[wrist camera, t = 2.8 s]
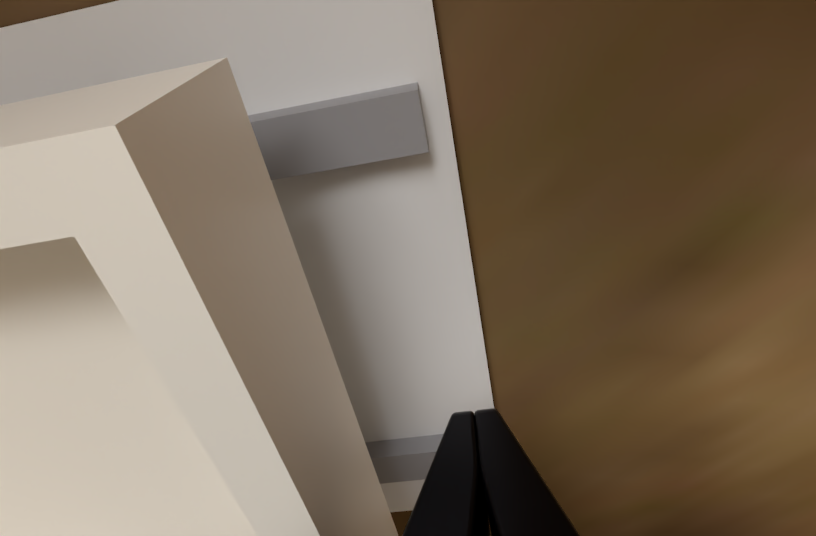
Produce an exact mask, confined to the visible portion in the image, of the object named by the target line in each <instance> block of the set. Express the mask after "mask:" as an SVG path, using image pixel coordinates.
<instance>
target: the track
mask: <svg viewBox="0 0 816 536" xmlns="http://www.w3.org/2000/svg"><path fill="white" fill-rule="evenodd" d="M226 57H227V59H228V62H229V64H230V67H231V70H232V73H233V76H234V78H235V81H236V84H237V87H238V90H239V92H240V95H241V98H242V101H243V103H244V106H245V109H246V112H247V115H248V117H249V120H250V123H251V126H252V129H253V131H254V134H255V137H256V140H257V142H258V145H259V148H260V151H261V154H262V156H263V159H264V162H265V165H266V168H267V170H268V173H269V176H270V179H271V182H272V184H273V187H274V190H275V193H276V195H277V198H278V201H279V204H280V207H281V209H282V212H283V215H284V218H285V221H286V223H287V226H288V229H289V232H290V234H291V237H292V240H293V243H294V246H295V248H296V251H297V254H298V257H299V260H300V262H301V265H302V268H303V271H304V274H305V276H306V279H307V282H308V285H309V287H310V290H311V293H312V296H313V299H314V301H315V304H316V307H317V310H318V313H319V315H320V318H321V321H322V324H323V326H324V329H325V332H326V335H327V338H328V340H329V343H330V346H331V349H332V352H333V354H334V357H335V360H336V363H337V366H338V368H339V371H340V374H341V377H342V379H343V382H344V385H345V388H346V391H347V393H348V396H349V399H350V402H351V405H352V407H353V410H354V413H355V416H356V418H357V421H358V424H359V427H360V430H361V432H362V435H363V438H364V441H365V444H366V446H367V449H368V452H369V455H370V458H371V460H372V463H373V466H374V469H375V471H376V474H377V477H378V480H379V483H380V485H381V488H382V491H383V494H384V497H385V499H386V502H387V505H388V508H389V510H390V512H399V511H410V510H413V508H414V506H415V503H416V501H417V498H418V496H419V493H420V491H421V488H422V486H423V483H424V481H425V478H426V476H427V473H428V471H429V469H430V466H431V464H432V461H433V459H434V456H435V454H436V451H437V449H438V446H439V444H440V441H441V439H442V436H443V434H444V432H445V429H446V427H447V424H448V422H449V419H450V417H451V415H452V414H453V413H455V412H462V411H472V412H473V413H474V415H475V411H477V410H481V409H490V408H494V404H493V397H492V391H491V384H490V378H489V371H488V365H487V358H486V351H485V345H484V338H483V332H482V325H481V319H480V312H479V306H478V299H477V292H476V286H475V279H474V273H473V266H472V260H471V253H470V247H469V240H468V233H467V227H466V220H465V214H464V207H463V201H462V194H461V187H460V181H459V174H458V168H457V161H456V155H455V148H454V142H453V135H452V128H451V122H450V115H449V109H448V102H447V96H446V89H445V83H444V76H443V69H442V63H441V56H440V50H439V43H438V37H437V30H436V24H435V17H434V10H433V4H432V0H118V1H114V2H110V3H105V4H101V5H97V6H93V7H88V8H84V9H80V10H75V11H71V12H67V13H63V14H58V15H54V16H50V17H45V18H41V19H37V20H33V21H28V22H24V23H20V24H15V25H11V26H7V27H2V28H0V105H4V104H9V103H14V102H18V101H23V100H28V99H32V98H37V97H42V96H47V95H51V94H56V93H61V92H65V91H70V90H75V89H80V88H84V87H89V86H94V85H98V84H103V83H108V82H113V81H117V80H122V79H127V78H131V77H136V76H141V75H146V74H150V73H155V72H160V71H164V70H169V69H174V68H179V67H183V66H188V65H193V64H197V63H202V62H207V61H212V60H216V59H221V58H226Z"/></svg>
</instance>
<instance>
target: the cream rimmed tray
mask: <svg viewBox="0 0 816 536" xmlns="http://www.w3.org/2000/svg"><path fill="white" fill-rule="evenodd" d="M0 536H398V533H397V530H396V527H395V524H394V522H393V519H392V516H391V513H390V510H389V508H388V505H387V502H386V499H385V497H384V494H383V491H382V488H381V485H380V483H379V480H378V477H377V474H376V471H375V469H374V466H373V463H372V460H371V458H370V455H369V452H368V449H367V446H366V444H365V441H364V438H363V435H362V432H361V430H360V427H359V424H358V421H357V418H356V416H355V413H354V410H353V407H352V405H351V402H350V399H349V396H348V393H347V391H346V388H345V385H344V382H343V379H342V377H341V374H340V371H339V368H338V366H337V363H336V360H335V357H334V354H333V352H332V349H331V346H330V343H329V340H328V338H327V335H326V332H325V329H324V326H323V324H322V321H321V318H320V315H319V313H318V310H317V307H316V304H315V301H314V299H313V296H312V293H311V290H310V287H309V285H308V282H307V279H306V276H305V274H304V271H303V268H302V265H301V262H300V260H299V257H298V254H297V251H296V248H295V246H294V243H293V240H292V237H291V234H290V232H289V229H288V226H287V223H286V221H285V218H284V215H283V212H282V209H281V207H280V204H279V201H278V198H277V195H276V193H275V190H274V187H273V184H272V182H271V179H270V176H269V173H268V170H267V168H266V165H265V162H264V159H263V156H262V154H261V151H260V148H259V145H258V142H257V140H256V137H255V134H254V131H253V129H252V126H251V123H250V120H249V117H248V115H247V112H246V109H245V106H244V103H243V101H242V98H241V95H240V92H239V90H238V87H237V84H236V81H235V78H234V76H233V73H232V70H231V67H230V64H229V62H228V59H227V57H226V58H221V59H216V60H212V61H207V62H202V63H197V64H193V65H188V66H183V67H179V68H174V69H169V70H164V71H160V72H155V73H150V74H146V75H141V76H136V77H131V78H127V79H122V80H117V81H113V82H108V83H103V84H98V85H94V86H89V87H84V88H80V89H75V90H70V91H65V92H61V93H56V94H51V95H47V96H42V97H37V98H32V99H28V100H23V101H18V102H14V103H9V104H4V105H0Z"/></svg>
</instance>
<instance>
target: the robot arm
mask: <svg viewBox="0 0 816 536" xmlns="http://www.w3.org/2000/svg"><path fill="white" fill-rule="evenodd" d="M489 522H490V527H489ZM490 528H491V533H492V536H580V535H579V534H578V532H577V531H576V529H575V528H574V526H573V525H572V523H571V522H570V520H569V518H568V517H567V515H566V514H565V512H564V511H563V509H562V508H561V506H560V505H559V503H558V502H557V500H556V499H555V497H554V496H553V494H552V493H551V491H550V490H549V488H548V486H547V485H546V483H545V482H544V480H543V479H542V477H541V476H540V474H539V473H538V471H537V470H536V468H535V467H534V465H533V464H532V462H531V461H530V459H529V458H528V456H527V454H526V453H525V451H524V450H523V448H522V447H521V445H520V444H519V442H518V441H517V439H516V438H515V436H514V435H513V433H512V432H511V430H510V429H509V427H508V426H507V424H506V422H505V421H504V419H503V418H502V416H501V415H500V413H499V412H498V411H497V410H496V409H494V408H490V409H481V410H477V411H475V415H474V413H473V412H472V411H462V412H455V413H453V414H452V415H451V417H450V419H449V422H448V424H447V427H446V429H445V432H444V434H443V436H442V439H441V441H440V444H439V446H438V449H437V451H436V454H435V456H434V459H433V461H432V464H431V466H430V469H429V471H428V473H427V476H426V478H425V481H424V483H423V486H422V488H421V491H420V493H419V496H418V498H417V501H416V503H415V506H414V508H413V510H412V513H411V515H410V518H409V520H408V523H407V525H406V528H405V530H404V533H403V535H402V536H490Z"/></svg>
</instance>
